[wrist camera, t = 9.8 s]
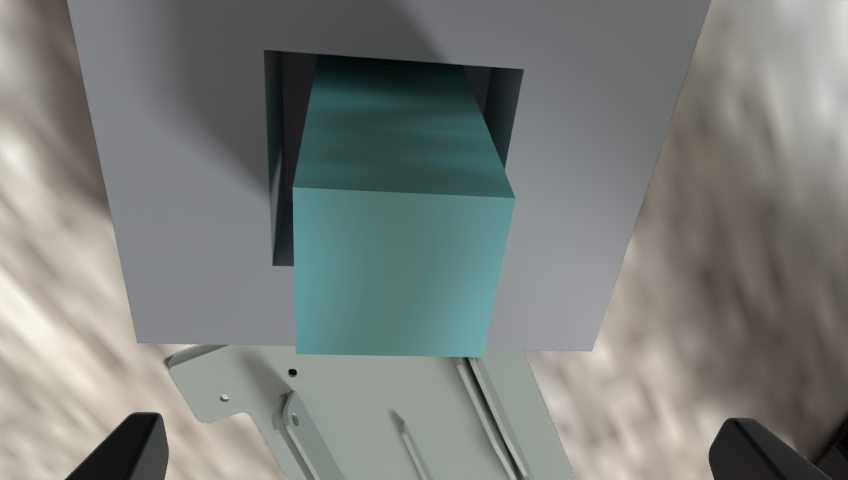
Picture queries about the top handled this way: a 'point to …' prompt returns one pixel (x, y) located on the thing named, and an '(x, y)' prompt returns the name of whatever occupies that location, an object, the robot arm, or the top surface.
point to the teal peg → (396, 212)
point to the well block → (284, 124)
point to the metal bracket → (381, 412)
